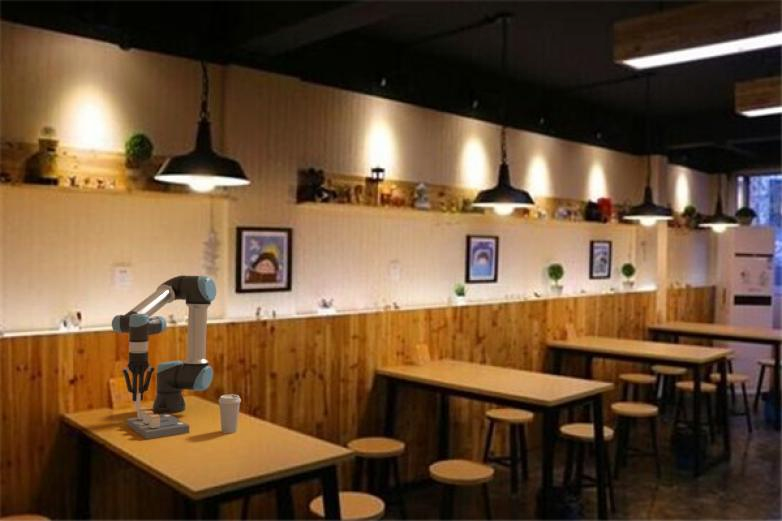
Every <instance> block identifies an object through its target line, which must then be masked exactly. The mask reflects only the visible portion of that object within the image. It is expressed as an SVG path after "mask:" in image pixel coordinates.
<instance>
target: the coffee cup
mask: <svg viewBox="0 0 782 521" xmlns="http://www.w3.org/2000/svg"><path fill="white" fill-rule="evenodd" d="M217 402H218V404H219V414H220V417H219V418H220V430H221V433H224V434H233V433H234V434H235V433H236V432H237V431H238V423H239V414H240V406H241V402H242V399H241V398H240V395H238V394H233V393H232V394H223V395H220V396H219V398H218V401H217Z"/></svg>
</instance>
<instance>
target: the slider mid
mask: <svg viewBox="0 0 782 521" xmlns="http://www.w3.org/2000/svg"><path fill="white" fill-rule="evenodd" d="M154 413H155V412H153V410H152V409H151V410H147V411H143V422H144V423H145V424H149V422H150V415H155V414H154Z"/></svg>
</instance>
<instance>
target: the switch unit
mask: <svg viewBox="0 0 782 521" xmlns="http://www.w3.org/2000/svg"><path fill="white" fill-rule="evenodd" d="M157 415H159V416H160V427H157V428H151V427H150V426H149V424H145V423H144V422H143V420H139V419H138V418H137V416H136V417H128V418H126V427H128V428H130V429H131V430H132V431H134V432H136V433H137V434H138V435H139V436H141V437H142V438H144V439H146V440H152V439H158V438H163V437H164V438H165V437H166V438H167V437H171V436H177V435H183V434H184V435H185V434H189V433H190V425H189V424H187V423H185V422H184V421H182V420H180V419H179V418H177V417H175V416H173V415H172V414H171V413H157Z"/></svg>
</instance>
